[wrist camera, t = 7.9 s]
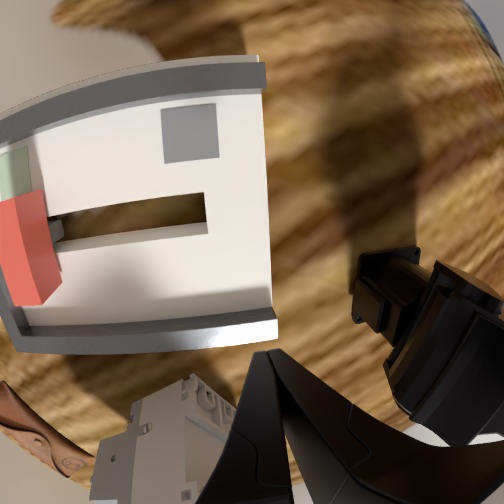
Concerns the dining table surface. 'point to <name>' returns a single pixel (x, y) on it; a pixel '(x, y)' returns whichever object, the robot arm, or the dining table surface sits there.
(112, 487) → the circuit breaker
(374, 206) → the dining table surface
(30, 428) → the sunglasses case
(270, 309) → the grey frame
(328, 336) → the dining table surface
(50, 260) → the lever
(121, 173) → the switch panel
